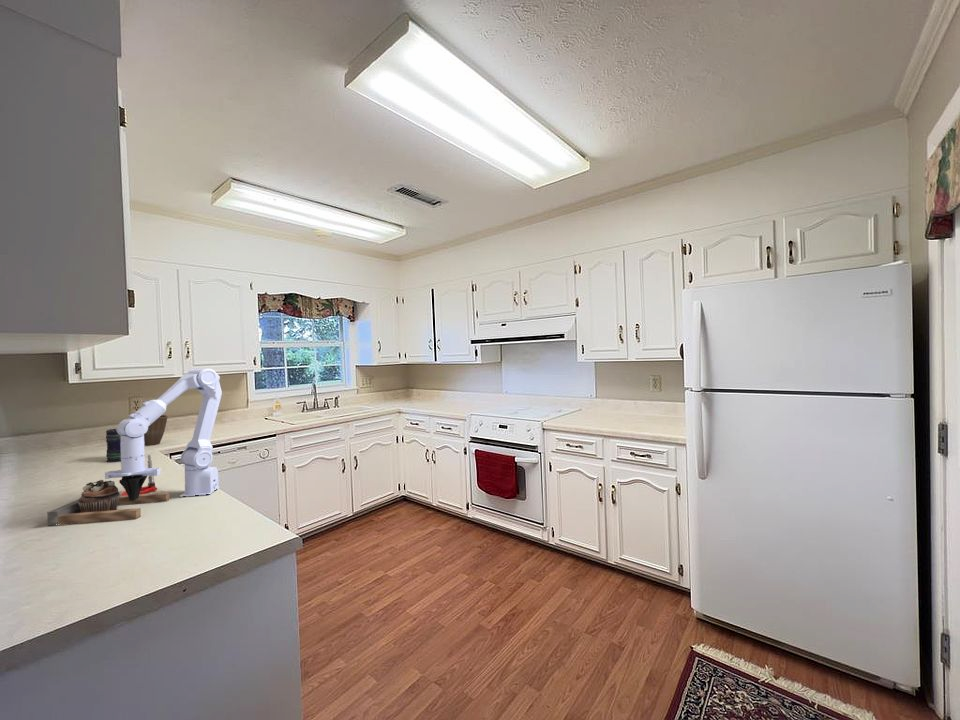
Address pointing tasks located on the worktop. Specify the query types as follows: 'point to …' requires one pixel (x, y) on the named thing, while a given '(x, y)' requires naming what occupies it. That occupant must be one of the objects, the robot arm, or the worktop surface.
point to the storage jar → (113, 446)
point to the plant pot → (155, 431)
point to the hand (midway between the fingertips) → (134, 499)
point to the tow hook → (150, 478)
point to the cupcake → (99, 497)
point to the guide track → (74, 515)
